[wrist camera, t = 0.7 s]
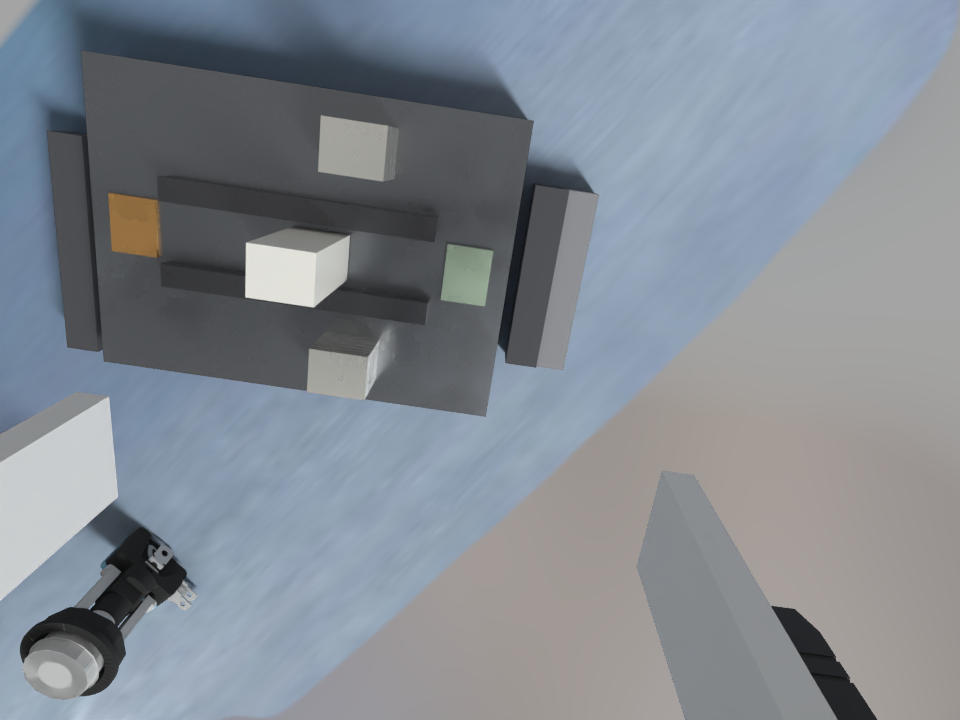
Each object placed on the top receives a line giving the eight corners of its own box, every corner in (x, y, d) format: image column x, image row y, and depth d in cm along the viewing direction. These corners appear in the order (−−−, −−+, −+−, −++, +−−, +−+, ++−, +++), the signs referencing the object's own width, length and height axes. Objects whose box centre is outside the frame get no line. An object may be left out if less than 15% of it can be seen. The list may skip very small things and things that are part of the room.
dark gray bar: (87, 338, 36) (67, 347, 34) (70, 131, 32) (46, 130, 31) (116, 342, 36) (97, 351, 35) (103, 137, 32) (81, 136, 31)
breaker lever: (291, 271, 31) (245, 297, 26) (292, 226, 30) (245, 242, 25) (346, 280, 31) (313, 307, 26) (350, 235, 31) (316, 253, 25)
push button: (222, 575, 42) (142, 697, 32) (173, 611, 43) (82, 739, 34) (151, 511, 40) (45, 621, 31) (102, 551, 41) (-14, 667, 32)
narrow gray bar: (505, 353, 36) (505, 363, 34) (533, 183, 32) (535, 185, 31) (560, 361, 36) (563, 371, 34) (594, 192, 32) (599, 195, 31)
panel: (134, 345, 36) (67, 380, 31) (119, 60, 31) (34, 38, 25) (486, 396, 37) (484, 440, 31) (530, 123, 31) (537, 116, 26)
